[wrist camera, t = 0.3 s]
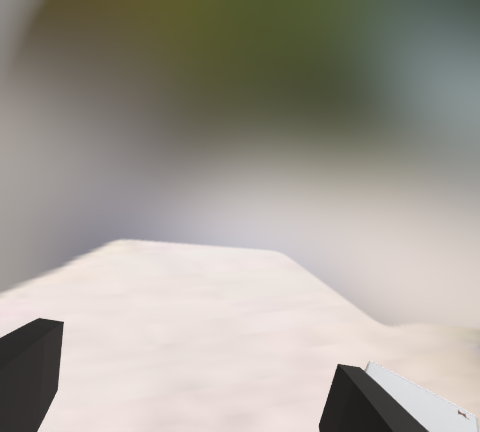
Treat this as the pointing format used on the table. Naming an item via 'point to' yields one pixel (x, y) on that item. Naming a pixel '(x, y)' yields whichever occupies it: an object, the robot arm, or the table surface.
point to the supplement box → (423, 403)
